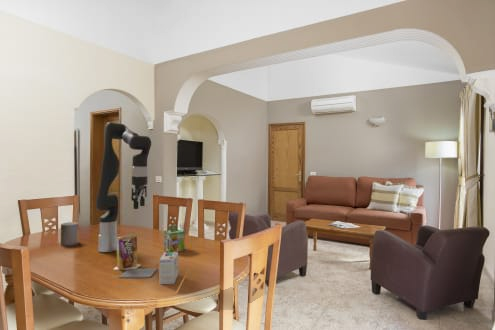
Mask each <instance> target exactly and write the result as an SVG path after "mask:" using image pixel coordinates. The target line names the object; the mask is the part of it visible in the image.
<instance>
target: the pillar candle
mask: <svg viewBox="0 0 495 330" xmlns="http://www.w3.org/2000/svg"><path fill="white" fill-rule="evenodd" d="M78 244H79V222H78V221H77V222H74V221H73V222H72V221H71V222H70V221H68V222H64V223H61V224H60V246H64V247H66V246H67V247H68V246H74V245H78Z"/></svg>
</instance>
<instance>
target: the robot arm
mask: <svg viewBox="0 0 495 330" xmlns="http://www.w3.org/2000/svg"><path fill="white" fill-rule="evenodd" d="M113 140H119V141H121V140H123V142H124V143H125V144H126V145H128V146H129V149H131V150H134V151H135V150H137V151H139V150H140V151H141V152H140V153H137V154H134V155H133V156H132V161H131V163H132V165H131V166H132V168H131V185H132V186H134V187H131V195H130V196H131V201H132V202H133V209H134V210H138V209H139V207H145V205H146V203H145V202H146V198H147V197H148V194H147V193H148V189H147V188H148V187H147V185H148V178H149V177H148V176H149V175H148V171H149V170H148V158H149V153H150V150H151V147H152V140H151V138H150V136H146V135H139V134H138V133H136V132H134V131H133V130H131V129H130V128H129V127H127V125H125V124H124V123H118V122H111V121H110V122H107V123H106V125H105V128H104V141H103V142H104V146H103V155H102V156H103V157H102V162H101V169H100V180H99V185H98V186H99V187H98V190H97V196H96V199H95V204H96V205H95V206H96V208H97V210H99V211H106V212H105V213H104V214H102V215H101V216H100V217H99V234H98V236H97V239H98V240H97V245H98V247H97V249H98V251H97V252H99V253H112V252H114V251H115V252H116V251H117V237H118V228H117V227H118V224H117V222H118V215H119V198H118V195H117V194H115V193H109V189H110V187H111V186H112V183H113V182H114V181H115V180H116V178H117V176H118V175H119V171H120V160H119V157H118V155H117V153H116V152H115V149H114V147H113Z"/></svg>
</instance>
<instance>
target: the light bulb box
mask: <svg viewBox="0 0 495 330" xmlns="http://www.w3.org/2000/svg"><path fill="white" fill-rule="evenodd" d="M158 263H159V264H158V266H159V271H158V272H159V273H158V274H159V279H158V280H159V281H158V282H159V283H158V284H159V285H174V284H175V283H176V280H177V278H178V276H179V252H167V251H165V252H163V253H162V256H161V257H160V258H159V259H158Z"/></svg>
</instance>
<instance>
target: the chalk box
mask: <svg viewBox="0 0 495 330" xmlns="http://www.w3.org/2000/svg"><path fill="white" fill-rule="evenodd" d="M173 228H175V229H173ZM185 235H186V234H185V231H184V230H181V229H179V228H178V225H177V224H174V225H169V230H164V235H163V236H164V237H163V240H164V241H163V242H164V251H165V252H178V253H180V252H185V237H186V236H185Z"/></svg>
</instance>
